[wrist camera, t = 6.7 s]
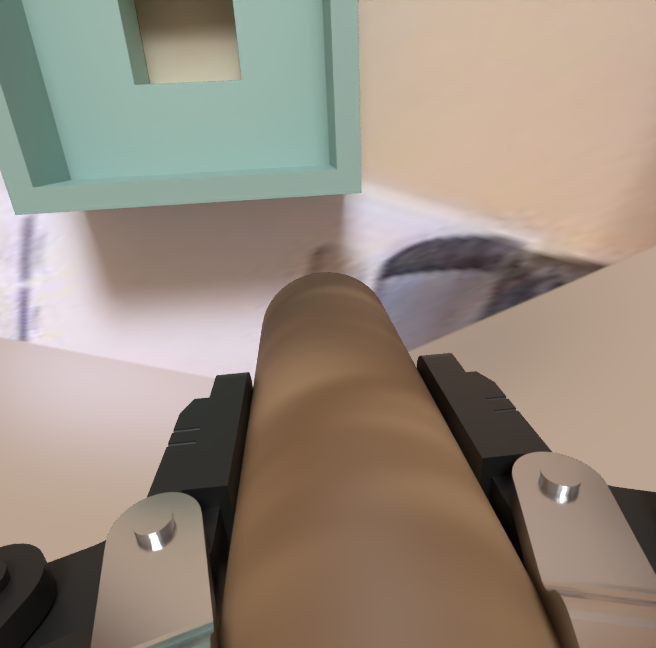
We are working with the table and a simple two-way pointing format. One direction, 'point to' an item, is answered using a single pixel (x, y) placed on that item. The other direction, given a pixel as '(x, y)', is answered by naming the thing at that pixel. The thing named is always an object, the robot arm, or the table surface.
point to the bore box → (175, 109)
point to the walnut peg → (361, 498)
